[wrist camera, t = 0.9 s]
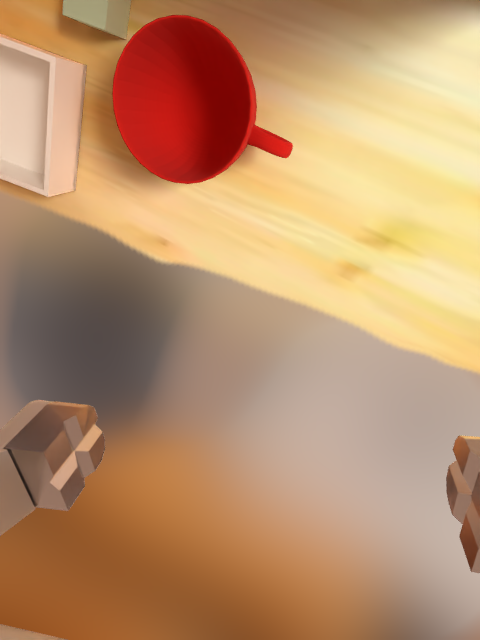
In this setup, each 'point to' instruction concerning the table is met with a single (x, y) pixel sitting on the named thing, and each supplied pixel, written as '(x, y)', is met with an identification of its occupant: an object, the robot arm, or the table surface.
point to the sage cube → (100, 14)
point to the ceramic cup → (187, 101)
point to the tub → (39, 117)
